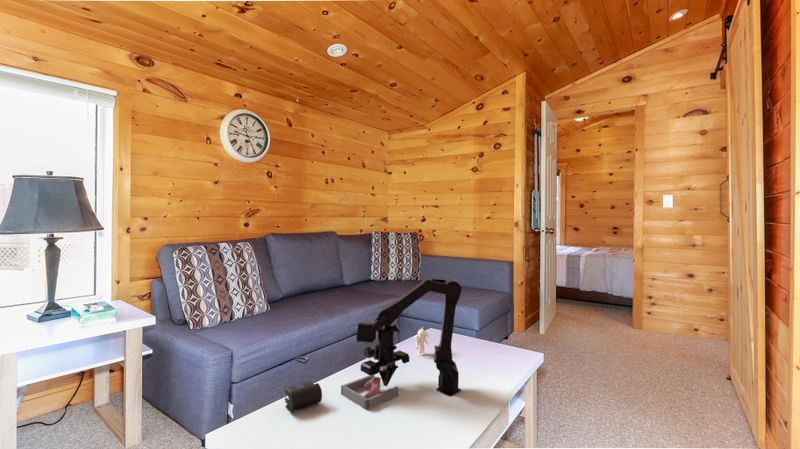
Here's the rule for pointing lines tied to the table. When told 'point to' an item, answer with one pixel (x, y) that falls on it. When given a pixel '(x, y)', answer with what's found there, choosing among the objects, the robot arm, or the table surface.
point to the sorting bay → (365, 403)
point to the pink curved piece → (372, 387)
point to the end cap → (303, 396)
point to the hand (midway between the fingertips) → (385, 385)
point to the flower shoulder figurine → (421, 341)
